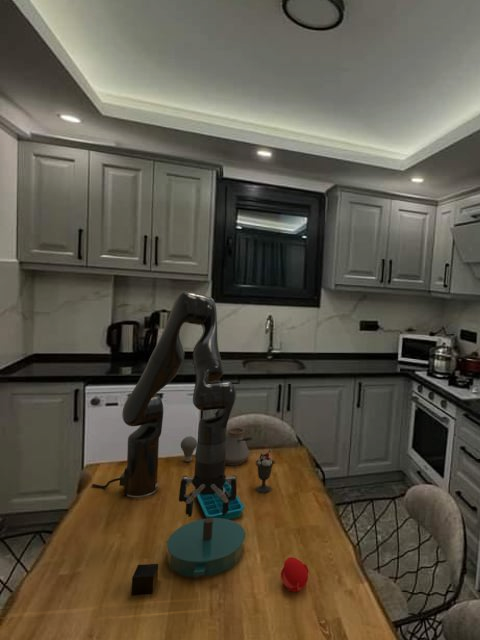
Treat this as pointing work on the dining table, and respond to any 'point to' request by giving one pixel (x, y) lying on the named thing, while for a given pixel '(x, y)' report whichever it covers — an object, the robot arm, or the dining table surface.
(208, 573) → the teal tabbed round part
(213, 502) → the ice cube tray
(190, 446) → the light bulb
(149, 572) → the block
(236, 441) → the coffee pot
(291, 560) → the red rounded oval piece
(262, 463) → the sundae
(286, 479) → the dining table surface
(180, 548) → the lid
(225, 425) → the robot arm
